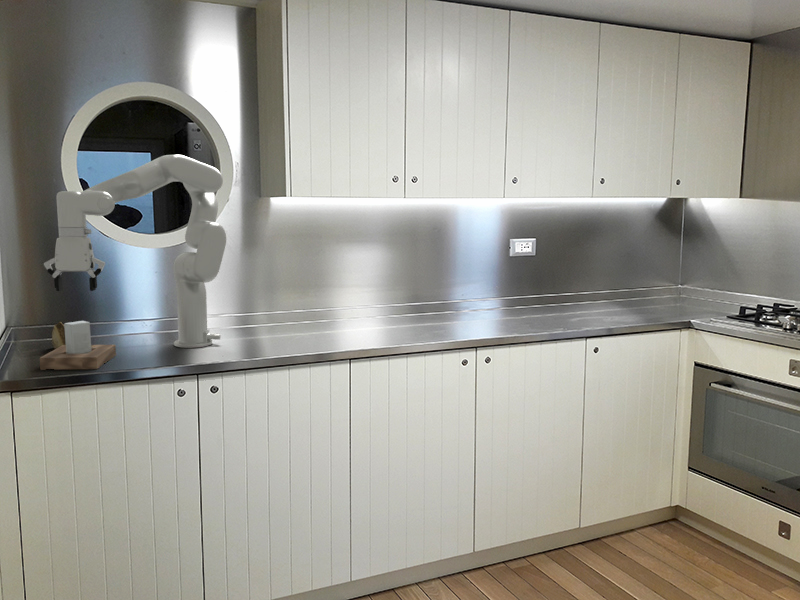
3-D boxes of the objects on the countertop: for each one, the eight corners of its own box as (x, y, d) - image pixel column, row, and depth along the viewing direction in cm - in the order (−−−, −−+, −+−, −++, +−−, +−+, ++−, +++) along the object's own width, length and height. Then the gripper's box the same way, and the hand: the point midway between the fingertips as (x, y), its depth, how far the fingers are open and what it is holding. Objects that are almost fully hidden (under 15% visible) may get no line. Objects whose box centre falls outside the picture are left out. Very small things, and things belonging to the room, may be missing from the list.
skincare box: (85, 358, 219) (83, 320, 217) (92, 360, 216) (90, 321, 215) (65, 361, 214) (63, 322, 213) (73, 364, 212) (70, 324, 210)
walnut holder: (115, 355, 225) (115, 344, 224) (97, 368, 207) (96, 357, 207) (63, 356, 223) (62, 345, 223) (40, 369, 206) (39, 357, 205)
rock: (43, 341, 235) (41, 342, 226) (59, 319, 237) (58, 320, 227) (73, 358, 238) (72, 361, 229) (89, 337, 240) (88, 338, 231)
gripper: (106, 232, 214) (109, 288, 217) (47, 232, 213) (51, 289, 215) (98, 234, 207) (102, 292, 209) (37, 233, 205) (41, 292, 208)
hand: (76, 290), depth 212 cm, fingers open, 9 cm apart
